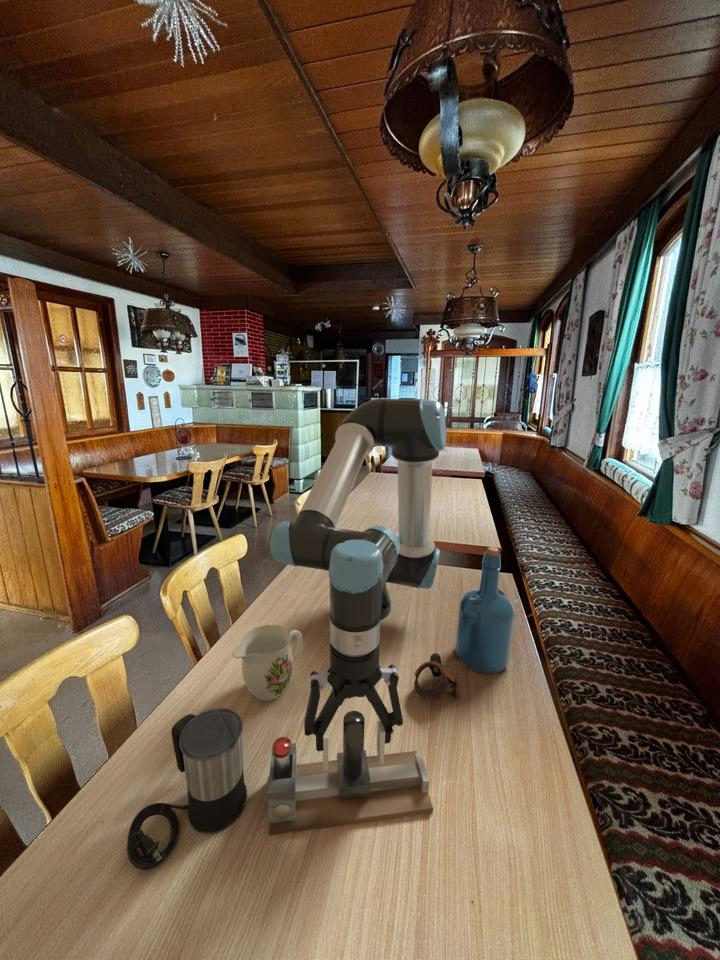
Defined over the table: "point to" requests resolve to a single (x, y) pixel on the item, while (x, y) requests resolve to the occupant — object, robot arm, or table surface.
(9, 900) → the table surface
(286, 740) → the red ball knob
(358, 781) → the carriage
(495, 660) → the wine bottle
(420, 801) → the rail base
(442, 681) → the broken pottery
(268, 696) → the pitcher
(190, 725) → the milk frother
